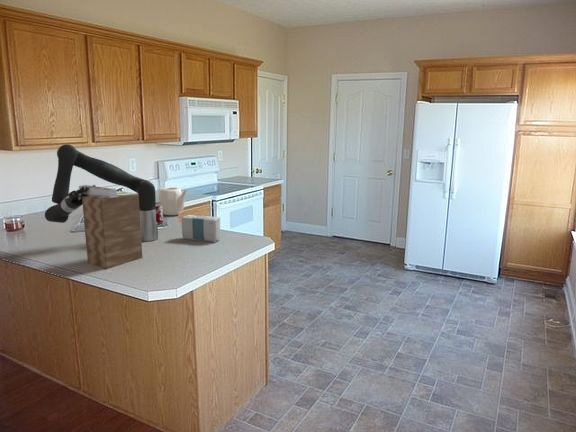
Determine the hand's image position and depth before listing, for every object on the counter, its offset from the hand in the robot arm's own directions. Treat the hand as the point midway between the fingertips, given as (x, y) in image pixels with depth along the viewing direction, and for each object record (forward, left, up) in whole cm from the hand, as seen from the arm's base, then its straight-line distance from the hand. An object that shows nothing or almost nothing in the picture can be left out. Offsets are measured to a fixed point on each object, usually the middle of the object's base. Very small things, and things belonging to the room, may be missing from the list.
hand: (89, 187), depth 205 cm
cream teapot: (-74, -76, -35) cm, 112 cm away
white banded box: (-58, -3, -35) cm, 68 cm away
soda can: (-54, -56, -35) cm, 86 cm away
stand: (-7, +7, -35) cm, 36 cm away
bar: (-2, +5, -3) cm, 6 cm away
